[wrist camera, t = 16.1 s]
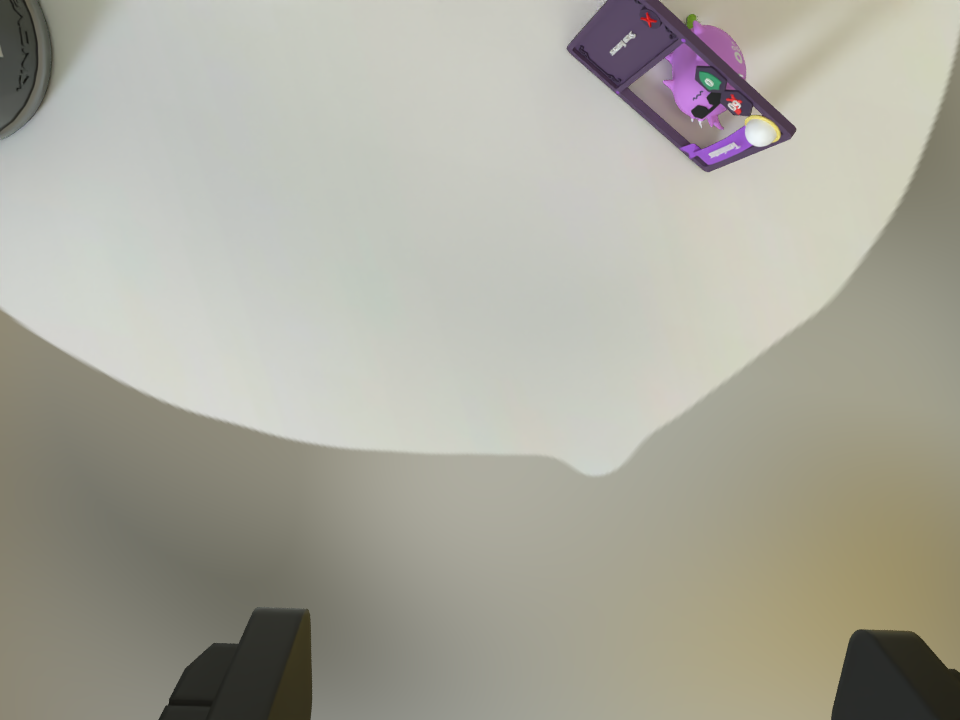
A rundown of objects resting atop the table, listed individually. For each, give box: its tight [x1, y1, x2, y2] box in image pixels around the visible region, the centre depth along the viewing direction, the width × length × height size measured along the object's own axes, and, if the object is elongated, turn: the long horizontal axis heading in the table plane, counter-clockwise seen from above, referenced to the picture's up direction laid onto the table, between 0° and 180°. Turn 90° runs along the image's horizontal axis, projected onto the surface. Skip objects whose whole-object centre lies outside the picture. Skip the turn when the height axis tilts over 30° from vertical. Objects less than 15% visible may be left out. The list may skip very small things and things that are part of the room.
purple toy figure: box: [567, 0, 796, 172], centre depth 32 cm, size 7×5×9 cm
